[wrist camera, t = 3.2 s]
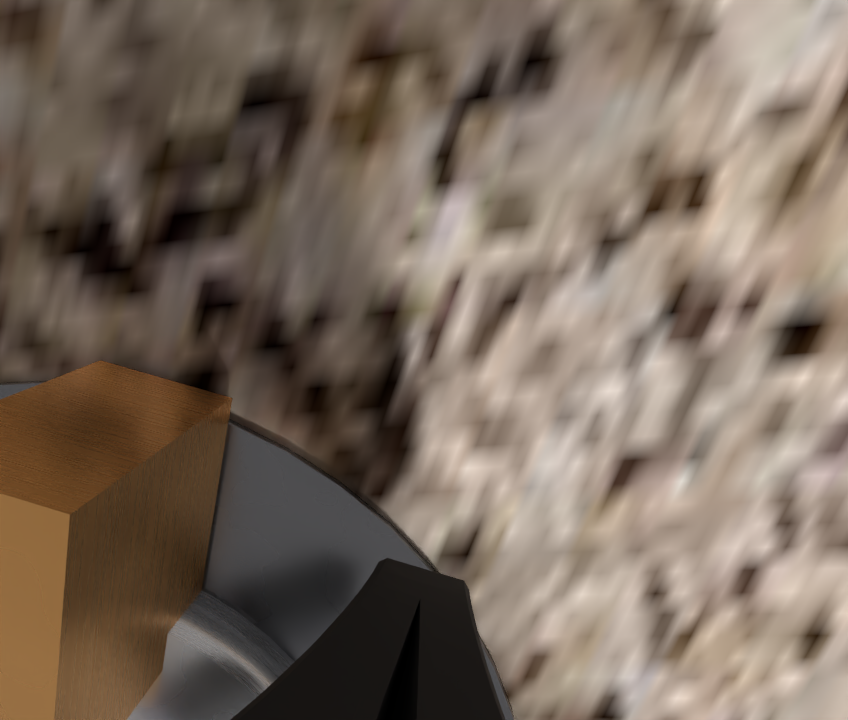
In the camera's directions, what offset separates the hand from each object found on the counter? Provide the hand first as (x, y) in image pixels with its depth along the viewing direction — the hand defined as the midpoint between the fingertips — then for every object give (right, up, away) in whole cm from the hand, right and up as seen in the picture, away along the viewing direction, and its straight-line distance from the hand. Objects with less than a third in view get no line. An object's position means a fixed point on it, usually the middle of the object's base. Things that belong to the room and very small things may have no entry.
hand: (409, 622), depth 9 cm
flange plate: (-6, -3, +4) cm, 8 cm away
